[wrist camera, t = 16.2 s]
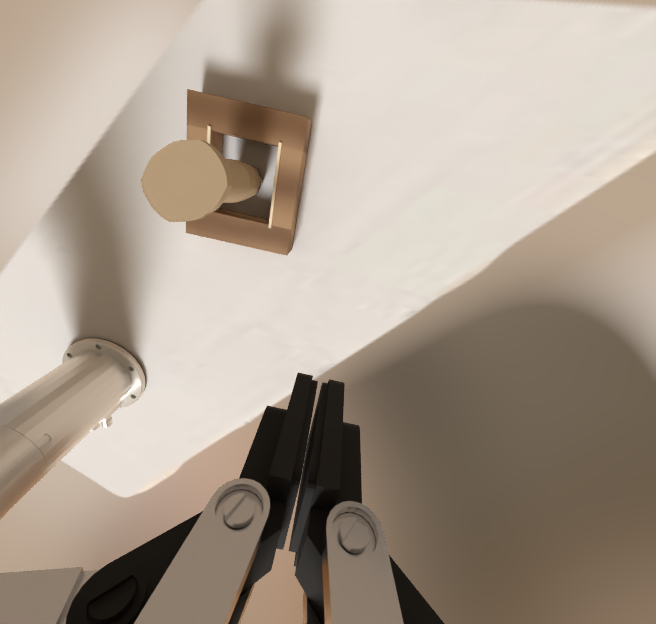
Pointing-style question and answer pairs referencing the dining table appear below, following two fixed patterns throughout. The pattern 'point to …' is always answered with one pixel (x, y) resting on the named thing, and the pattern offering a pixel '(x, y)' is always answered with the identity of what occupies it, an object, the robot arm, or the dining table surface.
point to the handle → (195, 180)
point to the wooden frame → (292, 141)
